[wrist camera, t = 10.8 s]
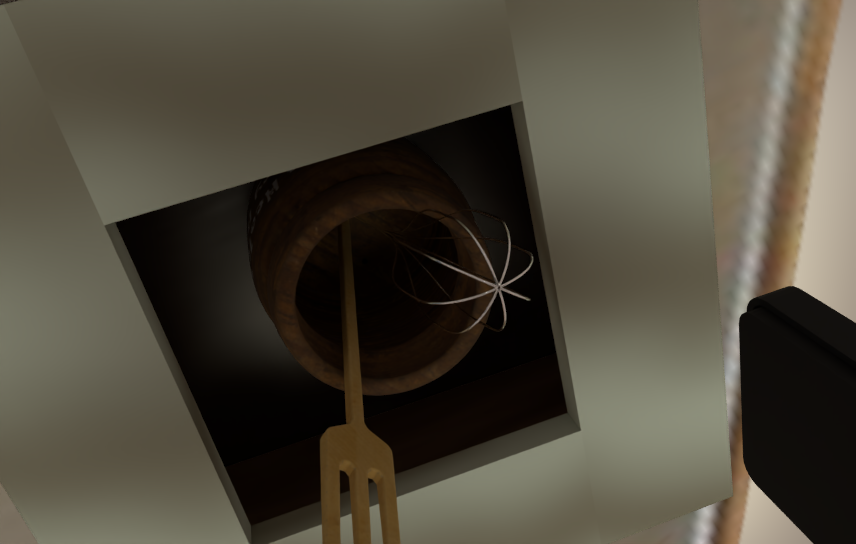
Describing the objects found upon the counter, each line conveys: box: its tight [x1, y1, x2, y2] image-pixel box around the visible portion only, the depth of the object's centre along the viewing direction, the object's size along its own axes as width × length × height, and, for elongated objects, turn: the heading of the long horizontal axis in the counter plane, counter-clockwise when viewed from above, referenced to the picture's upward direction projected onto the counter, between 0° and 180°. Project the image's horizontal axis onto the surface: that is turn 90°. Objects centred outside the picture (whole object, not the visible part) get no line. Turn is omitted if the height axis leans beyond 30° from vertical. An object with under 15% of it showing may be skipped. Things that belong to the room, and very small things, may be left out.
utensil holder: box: [247, 137, 533, 544], centre depth 17 cm, size 6×6×12 cm
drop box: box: [0, 0, 733, 544], centre depth 19 cm, size 16×16×8 cm
